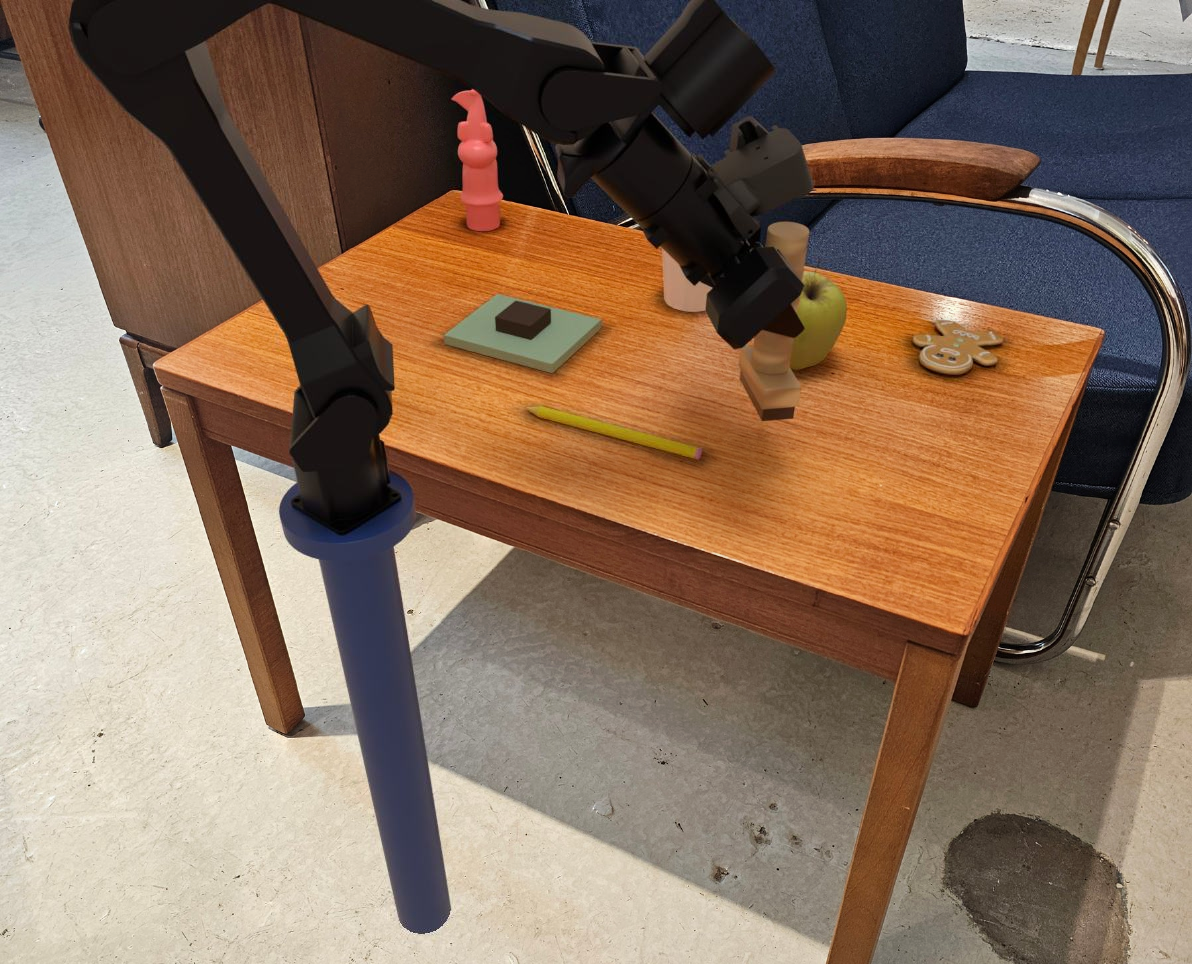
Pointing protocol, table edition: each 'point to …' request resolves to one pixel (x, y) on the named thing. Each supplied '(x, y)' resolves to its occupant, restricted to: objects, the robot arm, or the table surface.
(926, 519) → the table surface
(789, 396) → the wooden rubber stamp
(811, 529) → the table surface
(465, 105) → the figurine
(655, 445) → the pencil
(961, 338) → the cookie
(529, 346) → the mat
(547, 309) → the dark brown square block
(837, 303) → the apple
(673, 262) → the white cup
